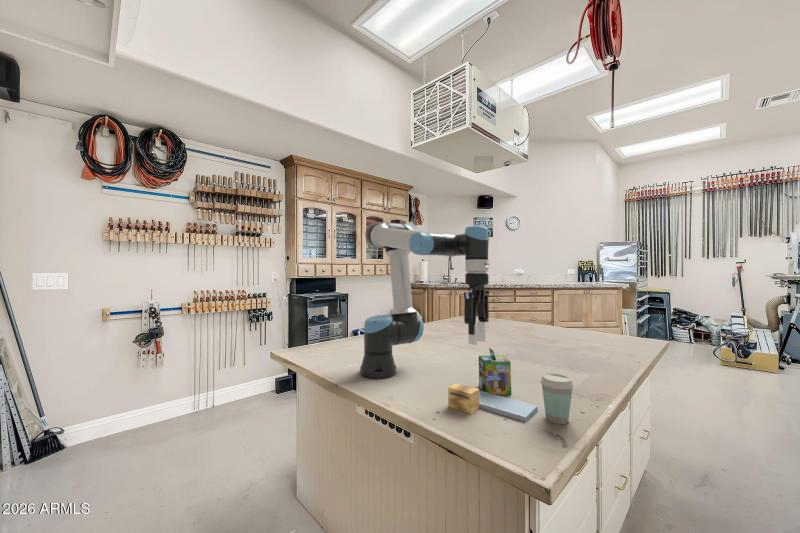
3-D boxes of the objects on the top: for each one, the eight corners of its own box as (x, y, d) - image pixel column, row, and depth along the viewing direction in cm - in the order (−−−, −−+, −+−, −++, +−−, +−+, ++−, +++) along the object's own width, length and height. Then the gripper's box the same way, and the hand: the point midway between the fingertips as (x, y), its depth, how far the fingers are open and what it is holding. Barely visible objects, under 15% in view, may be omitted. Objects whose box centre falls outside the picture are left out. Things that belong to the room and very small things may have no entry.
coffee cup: (581, 423, 89) (580, 380, 89) (555, 428, 87) (555, 383, 87) (557, 410, 97) (557, 371, 98) (534, 414, 95) (534, 374, 95)
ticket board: (452, 400, 106) (452, 395, 106) (467, 391, 113) (467, 386, 113) (525, 422, 90) (525, 417, 90) (537, 410, 98) (537, 405, 98)
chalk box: (511, 395, 109) (511, 352, 110) (484, 395, 109) (484, 352, 109) (502, 385, 119) (502, 345, 119) (478, 385, 119) (478, 345, 119)
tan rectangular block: (448, 406, 100) (448, 387, 100) (456, 401, 104) (456, 383, 104) (471, 414, 95) (471, 393, 95) (479, 408, 99) (479, 389, 99)
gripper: (473, 273, 97) (474, 349, 97) (499, 272, 111) (499, 339, 111) (452, 272, 102) (452, 345, 102) (479, 272, 116) (479, 336, 116)
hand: (477, 342), depth 106 cm, fingers open, 5 cm apart
